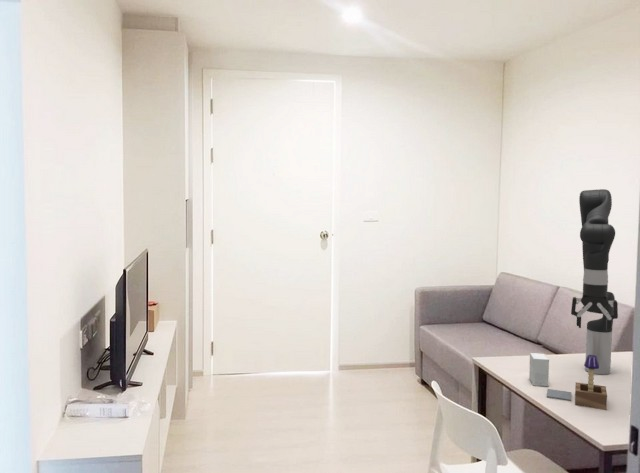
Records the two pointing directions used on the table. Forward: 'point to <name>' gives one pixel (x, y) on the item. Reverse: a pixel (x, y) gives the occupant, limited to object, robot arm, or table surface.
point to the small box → (539, 369)
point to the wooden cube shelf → (591, 396)
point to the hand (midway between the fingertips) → (593, 328)
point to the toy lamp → (591, 369)
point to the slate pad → (559, 394)
